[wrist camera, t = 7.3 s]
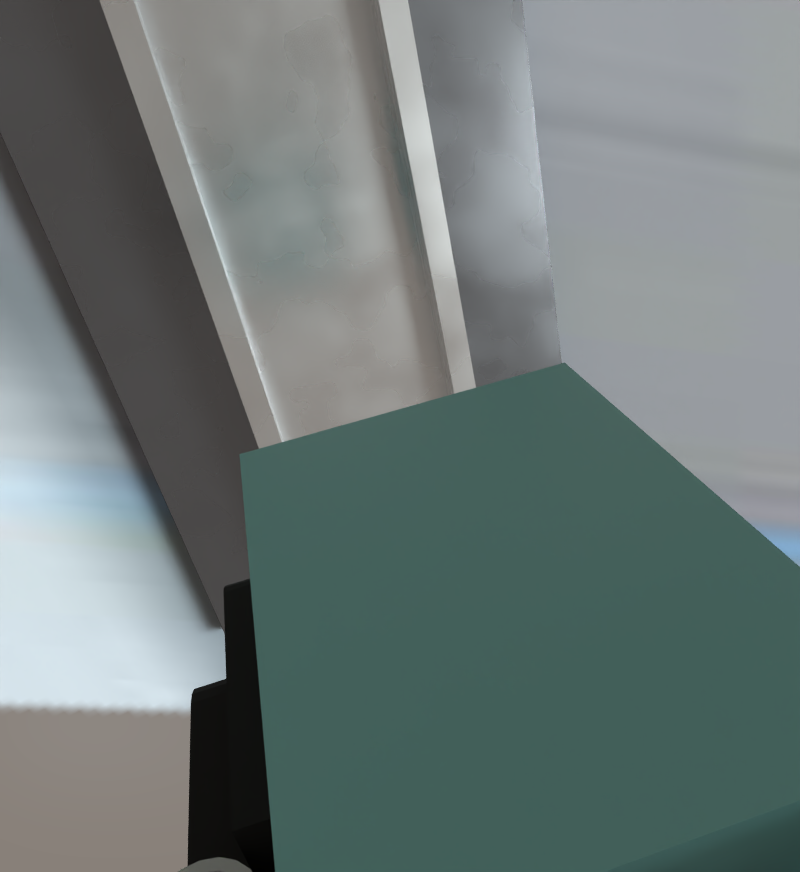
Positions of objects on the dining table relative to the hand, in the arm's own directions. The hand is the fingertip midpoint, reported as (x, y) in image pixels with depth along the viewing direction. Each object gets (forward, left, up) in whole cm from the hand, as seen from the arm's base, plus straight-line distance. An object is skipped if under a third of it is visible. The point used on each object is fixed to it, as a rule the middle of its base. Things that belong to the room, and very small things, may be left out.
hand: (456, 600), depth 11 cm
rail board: (0, 0, -17) cm, 17 cm away
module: (0, 0, -1) cm, 1 cm away
